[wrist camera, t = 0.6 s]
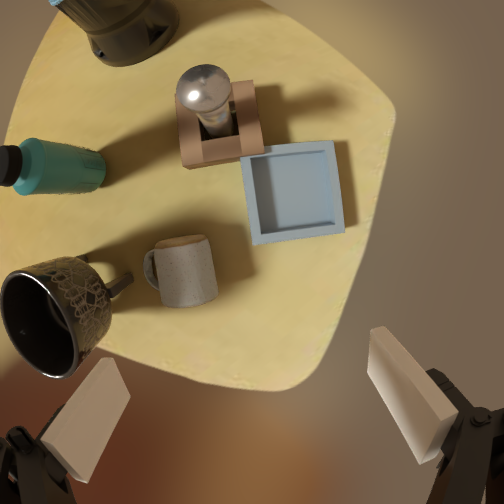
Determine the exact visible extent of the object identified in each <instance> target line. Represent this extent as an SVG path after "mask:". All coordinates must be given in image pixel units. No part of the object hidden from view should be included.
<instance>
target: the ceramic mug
mask: <svg viewBox="0 0 504 504" xmlns="http://www.w3.org/2000/svg"><path fill="white" fill-rule="evenodd" d="M153 255H154V259H155V265H156V270H157V276H158V281H157V280H156V279H155V277H154V275H153V270H152V256H153ZM143 270H144V275H145V277H146V280H147V281H148V283H149V284H150V285H151V286H152V287H153V288H155V289H156V290H158V291H160V296H161V301H162V304H163V305H164V306H167V307H172V308H185V307H192V306H198V305H202V304H205V303H207V302H209V301H212V300H213V299H215V298H216V297H217V296H218V293H219V291H218V286H217V281H216V275H215V269H214V265H213V259H212V253H211V248H210V244H209V241H208V239H207V237H206V236H205V235H203V234H197V235H188V236H182V237H176V238H171V239H166V240H162V241H159V242H157V243H156V245H155V249H152V250H150V251H149V252H147V253H146V255H145V257H144V260H143Z"/></svg>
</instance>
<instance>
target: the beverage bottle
mask: <svg viewBox="0 0 504 504" xmlns="http://www.w3.org/2000/svg"><path fill="white" fill-rule="evenodd" d="M79 147H80V146H79ZM79 147H75V145H74V146H72V145H71V144H70V145H68V144H67V145H66V144H65V143H64V144H61V143H55V142H50V141H44V140H39V139H37V138H29V139H26V140H25V141H23V142H22V143H21V144H20V145H19V147H18V146H15V145H10V146H6V145H3V146H0V186H5V187H9V186H13V188H14V189H15V191H16V192H17V193H18V194H20V195H24V196H25V195H32V194H50V195H51V194H59V195H60V194H63V193H79V194H80V193H81V194H82V193H83V194H85V193H87V192H92V191H95V189H97V188H98V187H99V186H100V185H101V184H102V182H103V180H104V178H105V174H106V164H105V161H104V159H103V157H102V156H101V155H100V154H99V153H98V152H96V151H92V150H93V149H92V150H90V149H89V148H88V149H89V150H88V149H85V148H84V147H83V148H81V147H80V148H79Z"/></svg>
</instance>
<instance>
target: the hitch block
mask: <svg viewBox="0 0 504 504" xmlns="http://www.w3.org/2000/svg"><path fill="white" fill-rule="evenodd" d="M230 85H231V93H230V96H229V98H228V104H229V108H230V111H234V110H236V115H237V121H238V128H239V135H237V136H230V137H224V138H218V139H212V140H207V141H205V135H204V127H203V124H202V122H201V121H200V119H199V118H198V116H197V115H196V113H193V112H191V111H189V110H187V109H186V108H185V107H184V106H183V105H182V104H181V102H180V101H179V99H178V97H177V93H175V103H176V114H177V124H178V133H179V142H180V150H181V159H182V166H183V167H185V168H187V169H189V170H190V169H196V168H201V167H206V166H212V165H218V164H224V163H230V162H237V161H240V157H247V156H255V155H262V154H265V151H264V145H263V138H262V132H261V126H260V120H259V114H258V108H257V102H256V96H255V90H254V84H253V80H247V81H239V82H232V83H230Z"/></svg>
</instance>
